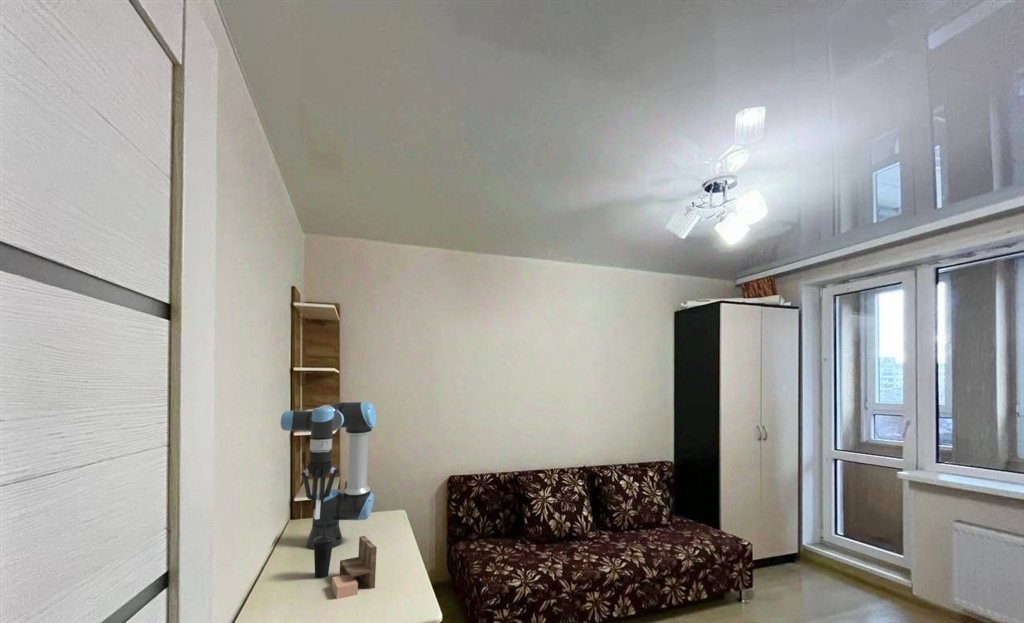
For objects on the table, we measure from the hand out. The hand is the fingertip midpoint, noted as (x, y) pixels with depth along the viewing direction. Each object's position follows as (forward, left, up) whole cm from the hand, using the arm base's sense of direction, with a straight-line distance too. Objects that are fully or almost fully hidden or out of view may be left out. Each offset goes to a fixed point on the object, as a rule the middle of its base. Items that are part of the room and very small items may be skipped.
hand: (316, 518), depth 171 cm
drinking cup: (-17, +7, -27) cm, 32 cm away
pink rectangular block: (+1, +11, -27) cm, 29 cm away
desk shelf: (-3, +16, -26) cm, 31 cm away
